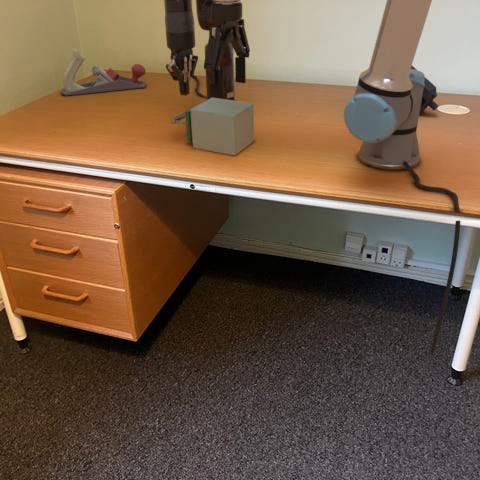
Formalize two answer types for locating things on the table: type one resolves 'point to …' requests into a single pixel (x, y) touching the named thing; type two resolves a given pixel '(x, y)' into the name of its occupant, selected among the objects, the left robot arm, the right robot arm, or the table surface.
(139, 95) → the table surface
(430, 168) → the table surface
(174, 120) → the drawer
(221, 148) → the grey box
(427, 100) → the tool
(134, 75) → the hand plane
